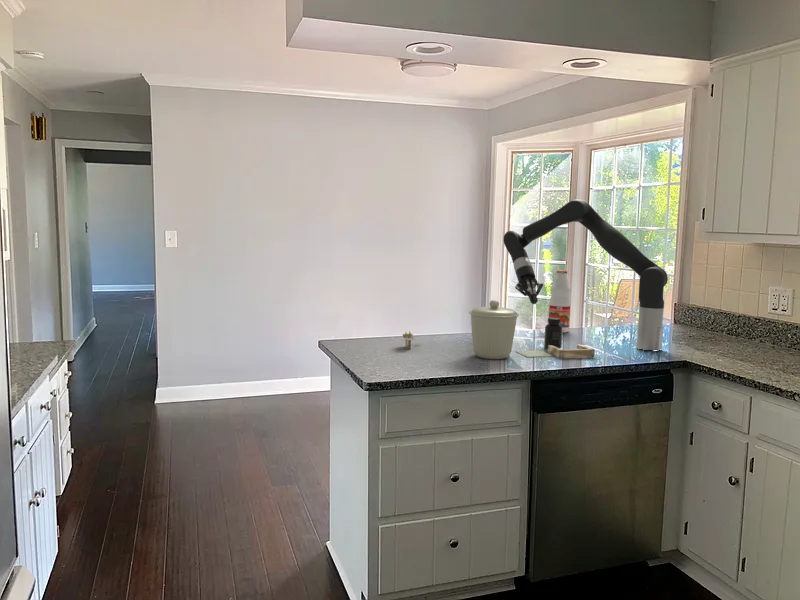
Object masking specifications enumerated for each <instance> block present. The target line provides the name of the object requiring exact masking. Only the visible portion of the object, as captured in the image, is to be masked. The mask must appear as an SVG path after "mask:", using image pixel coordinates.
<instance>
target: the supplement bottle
mask: <svg viewBox="0 0 800 600" xmlns="http://www.w3.org/2000/svg"><path fill="white" fill-rule="evenodd" d="M562 341H563V333H562V326H561V325H560V318H549V317H548V318H547V324H545V327H544V343H543V344H544V345H543V347H544V348H545V349H547V350H548V345H552V346H555V347H557V348H560V349H562V343H563V342H562Z"/></svg>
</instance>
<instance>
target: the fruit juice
mask: <svg viewBox="0 0 800 600" xmlns="http://www.w3.org/2000/svg"><path fill="white" fill-rule="evenodd" d="M555 273H556V276H555V279H554V281H553V283H552V285H551V286H550V298H549V304H548V305H549V306H548V307H549V308H548V318H560V325H561V326H562V334H563V333H564V334H565V333H568V332H569V331H570V316H571V298H570V296H571V293H572V288H571V286H570V282H569V280H568V270H562V269H556V271H555Z"/></svg>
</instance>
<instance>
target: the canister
mask: <svg viewBox="0 0 800 600" xmlns="http://www.w3.org/2000/svg"><path fill="white" fill-rule="evenodd" d="M488 305H489V306H479V307H474V308H472V309H471V310H469V311H468V314H470V326H471V337H472V338H471V339H472V348H473V349H472V350H473V352H474V353H473V354H475V355H476V357H478V358H482V359H484V360H485V359H486V360H503V359H507V358H509V356H510V355H511V353H512V348H513V344H514V337H515V331H516V325H517V320H518V319H517V318H518V317H519V315H520V314H519V313H518V312H517V311H516V310H514V309H512V308H508V307H502V306H500V301H498V300H497V299H493V300H490V302H489V304H488Z"/></svg>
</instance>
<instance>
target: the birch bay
mask: <svg viewBox="0 0 800 600" xmlns="http://www.w3.org/2000/svg"><path fill="white" fill-rule="evenodd" d="M595 352H596V349H594V348H591V347H588V346H586V345H583V344H577V345H576V348H574V349H562V348H561V349H560V348H557V347H555V346H552V345H548V349H547V354H549V355H552V356H554V357H556V358H558V359H560V358H561V360H562V359H588V358H587V357H594V358H595V354H596V353H595Z"/></svg>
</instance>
